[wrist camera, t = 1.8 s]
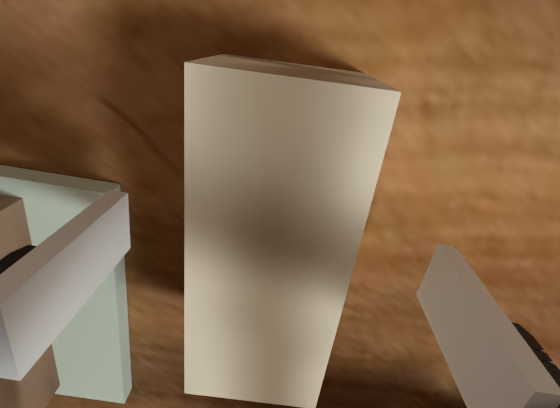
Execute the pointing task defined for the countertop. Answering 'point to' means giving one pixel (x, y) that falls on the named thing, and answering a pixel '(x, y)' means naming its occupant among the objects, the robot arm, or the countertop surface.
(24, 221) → the post
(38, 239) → the board
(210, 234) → the lintel
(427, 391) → the countertop surface
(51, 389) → the post
